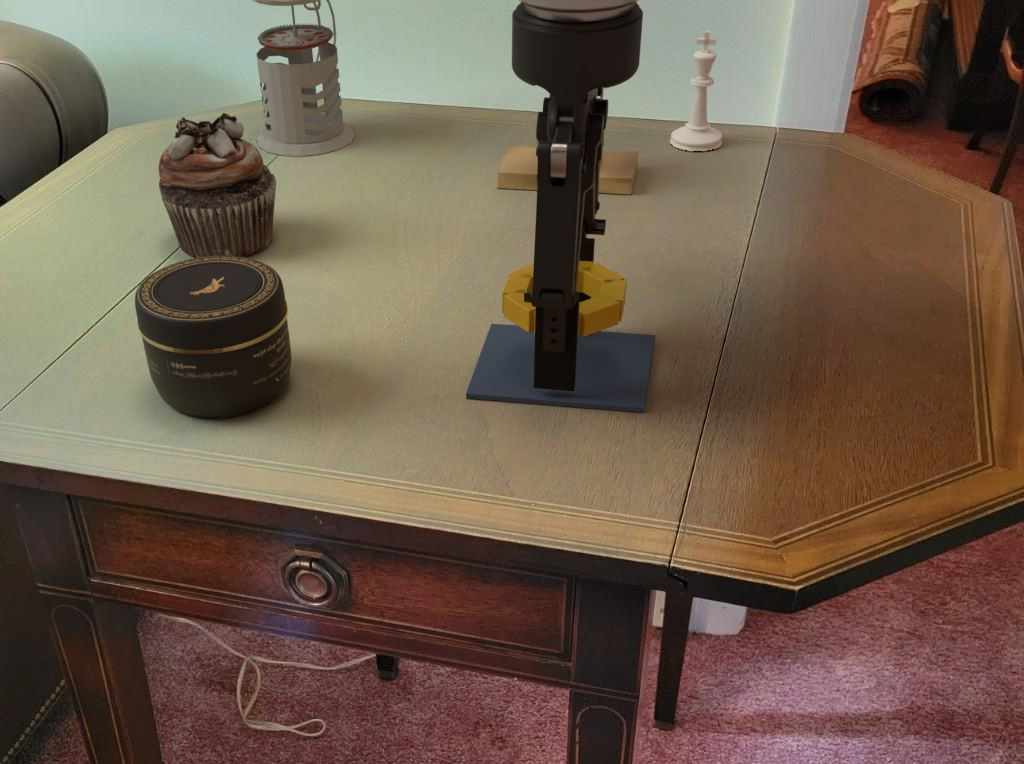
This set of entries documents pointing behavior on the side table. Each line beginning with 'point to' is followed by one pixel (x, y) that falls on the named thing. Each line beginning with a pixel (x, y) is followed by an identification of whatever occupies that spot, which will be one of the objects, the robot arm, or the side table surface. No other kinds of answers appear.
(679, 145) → the chess piece
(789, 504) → the side table surface
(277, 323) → the jar
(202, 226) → the cupcake
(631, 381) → the mat
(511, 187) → the stand
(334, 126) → the french press
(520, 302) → the ring
